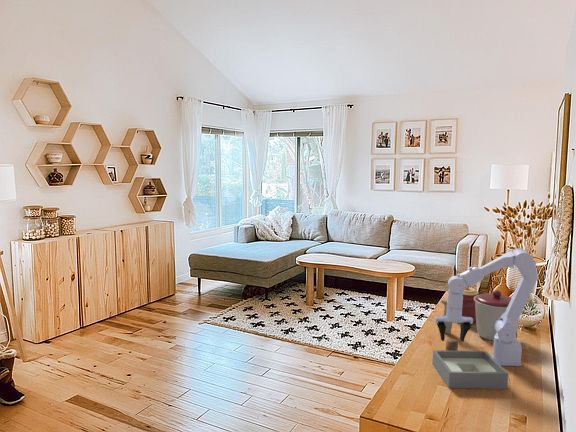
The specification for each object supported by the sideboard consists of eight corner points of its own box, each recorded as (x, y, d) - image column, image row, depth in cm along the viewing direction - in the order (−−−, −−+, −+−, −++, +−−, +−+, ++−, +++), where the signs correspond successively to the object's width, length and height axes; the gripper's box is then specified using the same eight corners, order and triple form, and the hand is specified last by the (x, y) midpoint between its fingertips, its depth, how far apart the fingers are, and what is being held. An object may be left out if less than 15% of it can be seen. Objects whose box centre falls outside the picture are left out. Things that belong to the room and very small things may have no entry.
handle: (452, 336, 203) (454, 303, 201) (437, 332, 207) (439, 300, 205) (455, 333, 207) (458, 300, 205) (441, 329, 211) (443, 297, 209)
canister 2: (524, 346, 194) (528, 297, 191) (480, 345, 195) (484, 296, 192) (505, 329, 212) (508, 284, 209) (465, 328, 212) (468, 284, 210)
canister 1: (443, 317, 228) (446, 281, 225) (464, 313, 233) (466, 279, 230) (463, 326, 216) (466, 289, 213) (484, 322, 221) (487, 286, 218)
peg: (454, 353, 187) (455, 338, 186) (458, 357, 182) (459, 343, 181) (443, 352, 187) (444, 338, 186) (447, 357, 182) (448, 343, 181)
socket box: (485, 364, 177) (486, 350, 176) (507, 388, 159) (508, 373, 158) (432, 364, 177) (433, 350, 176) (448, 387, 159) (449, 372, 158)
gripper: (469, 304, 186) (466, 336, 188) (432, 303, 186) (430, 335, 188) (476, 310, 179) (473, 343, 181) (438, 309, 179) (436, 343, 181)
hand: (452, 340), depth 184 cm, fingers open, 7 cm apart
